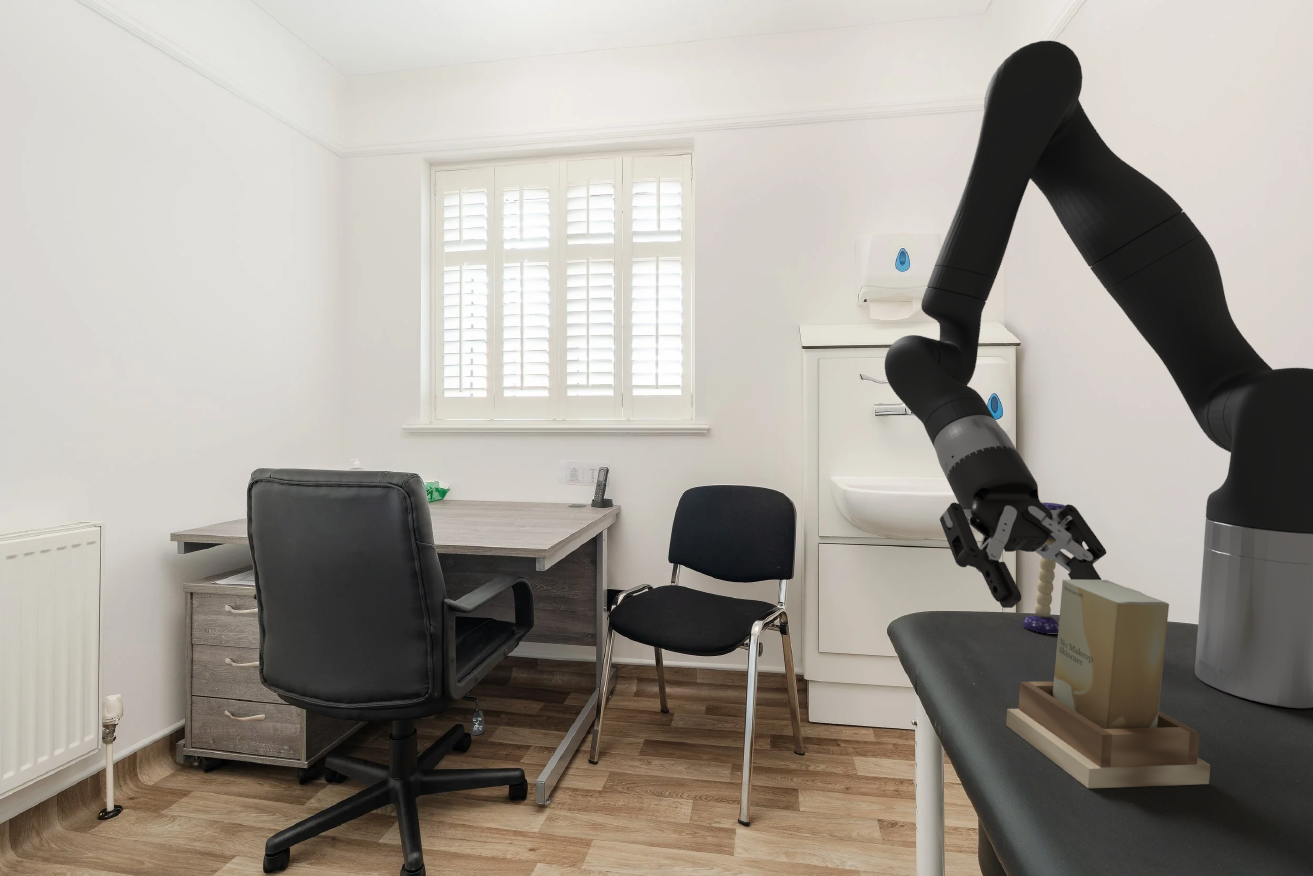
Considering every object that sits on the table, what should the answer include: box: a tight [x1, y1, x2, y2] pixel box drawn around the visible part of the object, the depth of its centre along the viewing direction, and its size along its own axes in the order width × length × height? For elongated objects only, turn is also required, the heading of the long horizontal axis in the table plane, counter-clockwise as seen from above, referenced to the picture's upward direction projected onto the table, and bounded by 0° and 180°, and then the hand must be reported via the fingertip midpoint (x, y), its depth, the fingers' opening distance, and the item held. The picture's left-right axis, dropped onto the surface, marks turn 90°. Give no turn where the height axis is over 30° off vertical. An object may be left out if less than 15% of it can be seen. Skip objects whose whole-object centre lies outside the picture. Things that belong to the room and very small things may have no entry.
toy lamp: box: [1022, 502, 1067, 634], centre depth 79 cm, size 5×5×17 cm
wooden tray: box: [1006, 680, 1211, 789], centre depth 50 cm, size 10×9×4 cm
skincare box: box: [1053, 579, 1170, 729], centre depth 50 cm, size 6×4×12 cm
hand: (1056, 604), depth 55 cm, fingers open, 8 cm apart
